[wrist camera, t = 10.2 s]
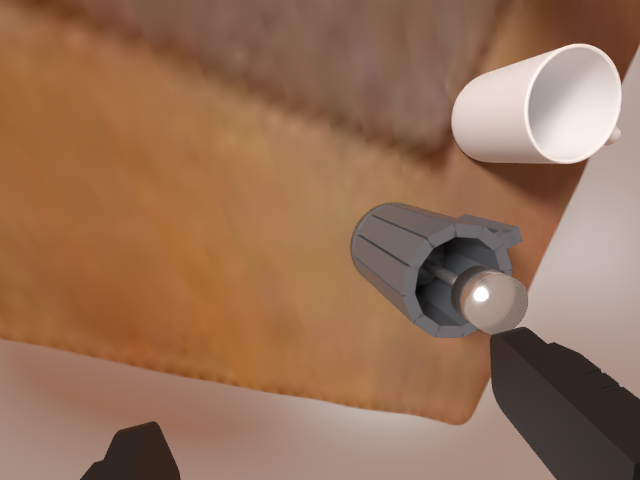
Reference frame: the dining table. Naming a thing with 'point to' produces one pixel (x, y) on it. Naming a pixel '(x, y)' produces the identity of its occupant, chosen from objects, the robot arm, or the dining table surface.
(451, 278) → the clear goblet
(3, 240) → the dining table surface
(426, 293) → the gray tankard
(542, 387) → the robot arm
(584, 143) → the cup
